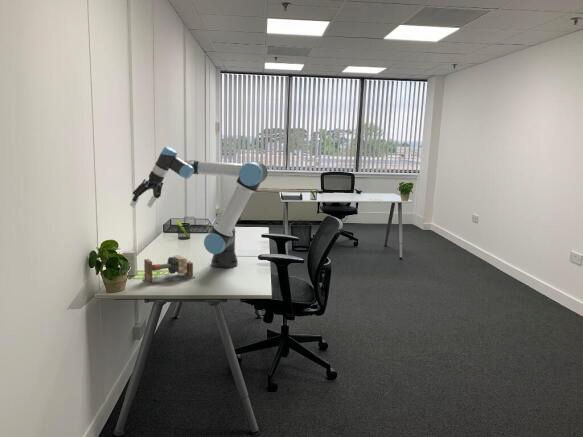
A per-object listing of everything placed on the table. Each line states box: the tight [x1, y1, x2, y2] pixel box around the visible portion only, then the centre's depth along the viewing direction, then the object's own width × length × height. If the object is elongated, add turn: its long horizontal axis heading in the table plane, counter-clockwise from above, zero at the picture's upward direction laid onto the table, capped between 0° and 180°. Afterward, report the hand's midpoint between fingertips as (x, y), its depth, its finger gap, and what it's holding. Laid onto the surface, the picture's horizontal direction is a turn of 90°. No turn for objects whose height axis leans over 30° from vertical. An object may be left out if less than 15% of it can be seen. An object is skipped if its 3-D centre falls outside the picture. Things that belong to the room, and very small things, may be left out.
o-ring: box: [166, 256, 177, 275], centre depth 220 cm, size 2×8×8 cm, turn 36°
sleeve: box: [172, 254, 188, 274], centre depth 223 cm, size 4×8×8 cm, turn 36°
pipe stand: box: [142, 258, 196, 286], centre depth 220 cm, size 24×9×11 cm, turn 125°
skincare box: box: [121, 250, 138, 276], centre depth 225 cm, size 6×4×12 cm
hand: (140, 206), depth 239 cm, fingers open, 13 cm apart
